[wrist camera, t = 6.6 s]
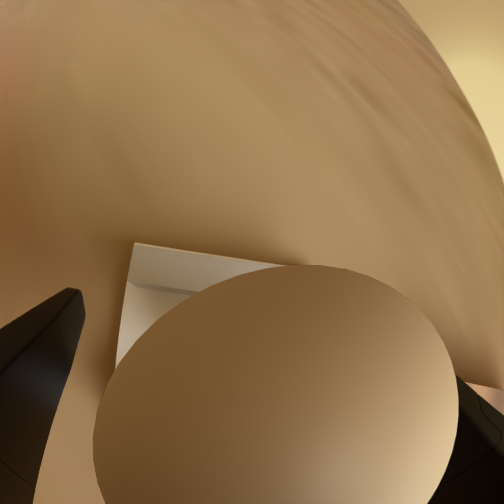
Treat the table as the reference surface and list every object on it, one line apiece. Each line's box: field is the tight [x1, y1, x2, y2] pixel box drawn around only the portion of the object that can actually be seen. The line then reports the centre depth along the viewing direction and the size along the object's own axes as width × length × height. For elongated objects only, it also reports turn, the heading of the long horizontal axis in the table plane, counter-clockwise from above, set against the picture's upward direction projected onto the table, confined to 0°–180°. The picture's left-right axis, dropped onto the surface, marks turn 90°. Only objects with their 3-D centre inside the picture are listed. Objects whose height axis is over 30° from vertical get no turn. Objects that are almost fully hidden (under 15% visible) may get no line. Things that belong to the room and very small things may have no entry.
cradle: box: [115, 242, 286, 369], centre depth 14 cm, size 10×10×3 cm
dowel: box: [93, 265, 458, 504], centre depth 8 cm, size 4×4×12 cm
